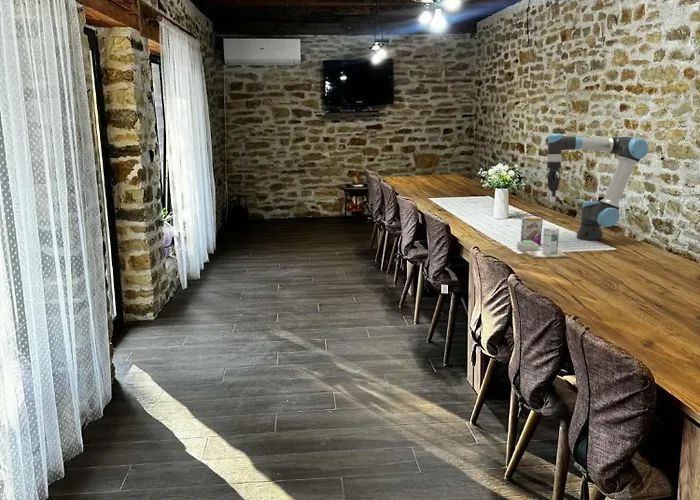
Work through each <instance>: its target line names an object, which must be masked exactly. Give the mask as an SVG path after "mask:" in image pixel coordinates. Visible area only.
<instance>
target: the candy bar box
mask: <svg viewBox="0 0 700 500" xmlns="http://www.w3.org/2000/svg"><path fill="white" fill-rule="evenodd" d="M542 231H543V218H542V217H541V216H522V217H521V230H520V241H519V242H523V240H531V241H534V242H535V243H536V244H538V245H539V246H541V243H542V242H541V241H542Z"/></svg>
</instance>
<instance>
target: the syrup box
mask: <svg viewBox="0 0 700 500" xmlns="http://www.w3.org/2000/svg"><path fill="white" fill-rule="evenodd" d="M559 232H560V228H558V227H555V226H551V227H550V226H547V227H543V237H542V250H541V251H542V253H544V254H547V255H553V254H557V252H558V250H559V237H560V235H559V234H560V233H559Z"/></svg>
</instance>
